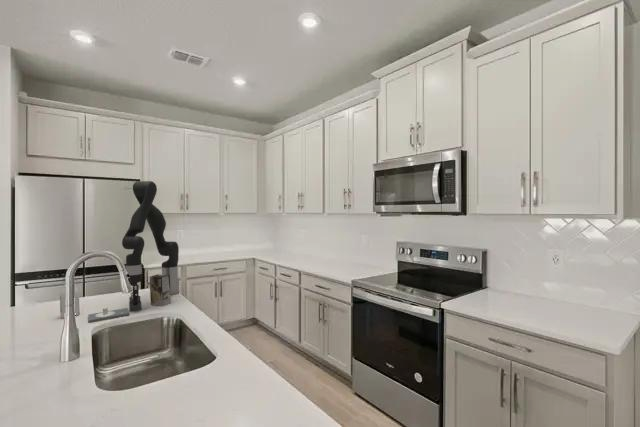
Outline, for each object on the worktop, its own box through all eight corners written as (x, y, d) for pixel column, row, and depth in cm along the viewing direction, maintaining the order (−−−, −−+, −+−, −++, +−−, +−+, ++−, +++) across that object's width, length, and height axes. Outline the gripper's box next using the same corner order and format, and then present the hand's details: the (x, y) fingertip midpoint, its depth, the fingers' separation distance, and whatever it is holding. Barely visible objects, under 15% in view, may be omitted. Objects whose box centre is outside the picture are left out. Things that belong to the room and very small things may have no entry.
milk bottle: (83, 313, 167) (82, 275, 167) (70, 318, 159) (69, 278, 159) (70, 313, 168) (68, 275, 167) (56, 318, 160) (55, 278, 160)
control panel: (127, 310, 172) (127, 301, 171) (129, 315, 163) (129, 306, 163) (88, 316, 162) (88, 308, 161) (88, 323, 153) (88, 314, 153)
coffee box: (171, 302, 184) (170, 274, 183) (163, 305, 178) (162, 277, 177) (158, 301, 186) (157, 274, 186) (149, 304, 180) (148, 276, 180)
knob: (140, 307, 176) (139, 294, 175) (141, 309, 171) (140, 296, 171) (129, 309, 173) (128, 295, 172) (130, 311, 168) (129, 297, 168)
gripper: (143, 274, 168) (144, 305, 168) (140, 270, 179) (140, 299, 179) (127, 276, 163) (127, 307, 164) (124, 272, 175) (125, 301, 175)
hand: (134, 303), depth 172 cm, fingers open, 8 cm apart
